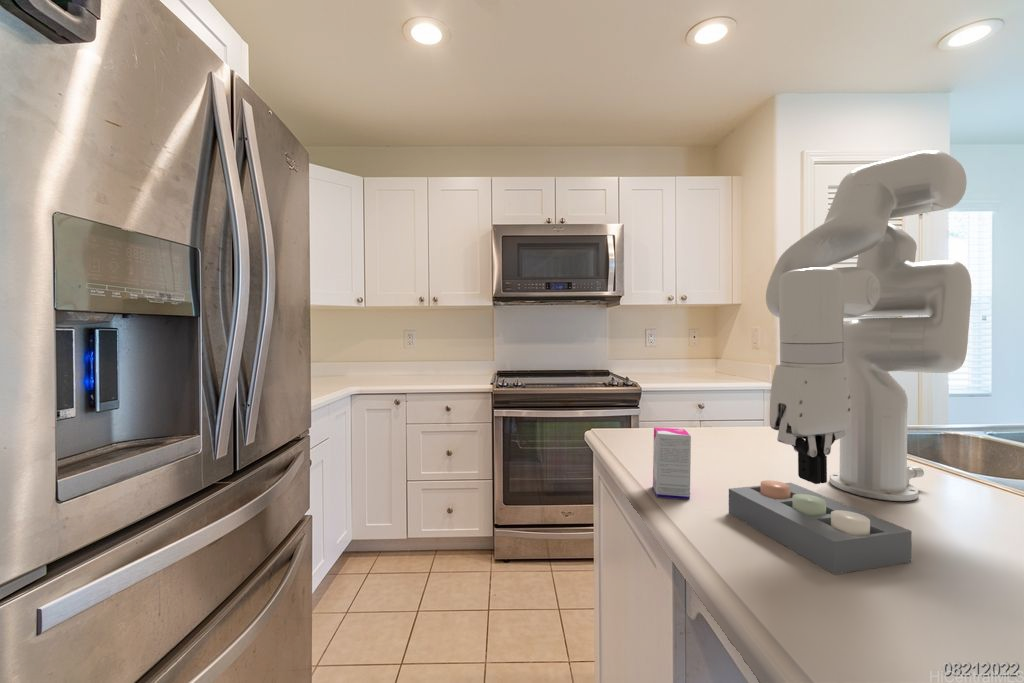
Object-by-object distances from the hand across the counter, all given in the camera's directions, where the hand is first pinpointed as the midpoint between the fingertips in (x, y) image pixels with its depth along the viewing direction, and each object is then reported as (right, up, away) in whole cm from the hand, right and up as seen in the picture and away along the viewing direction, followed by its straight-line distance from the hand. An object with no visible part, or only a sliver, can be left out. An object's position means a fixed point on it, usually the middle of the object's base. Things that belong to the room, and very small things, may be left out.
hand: (812, 480), depth 62 cm
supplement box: (-15, -8, +16) cm, 23 cm away
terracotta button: (-2, -6, +5) cm, 9 cm away
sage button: (-1, -7, -1) cm, 7 cm away
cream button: (0, -7, -6) cm, 9 cm away
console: (-1, -8, -1) cm, 8 cm away
